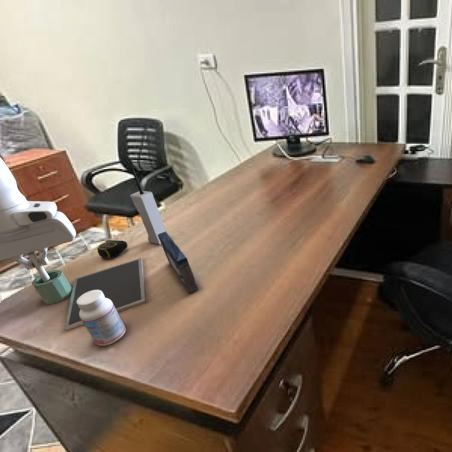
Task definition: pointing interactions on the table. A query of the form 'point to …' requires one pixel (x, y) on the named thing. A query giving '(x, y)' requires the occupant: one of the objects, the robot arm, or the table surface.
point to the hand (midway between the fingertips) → (38, 266)
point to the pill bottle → (100, 318)
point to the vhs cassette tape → (178, 262)
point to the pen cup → (52, 287)
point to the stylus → (38, 267)
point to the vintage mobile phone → (148, 212)
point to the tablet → (109, 289)
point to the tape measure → (111, 248)
